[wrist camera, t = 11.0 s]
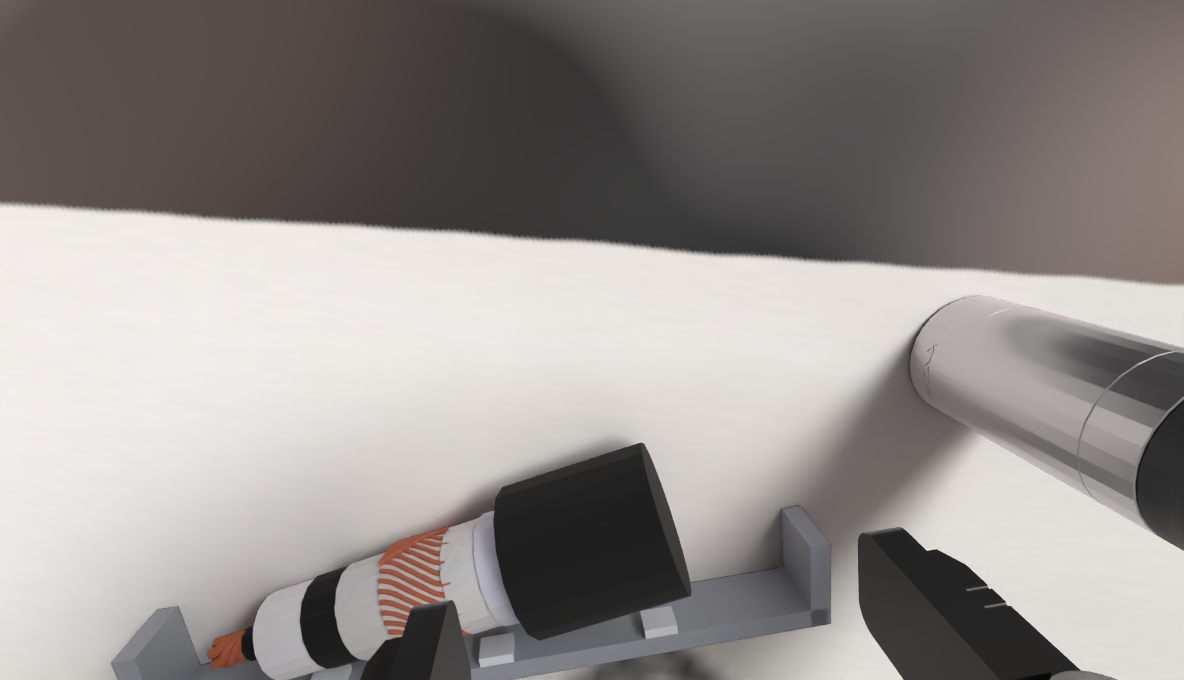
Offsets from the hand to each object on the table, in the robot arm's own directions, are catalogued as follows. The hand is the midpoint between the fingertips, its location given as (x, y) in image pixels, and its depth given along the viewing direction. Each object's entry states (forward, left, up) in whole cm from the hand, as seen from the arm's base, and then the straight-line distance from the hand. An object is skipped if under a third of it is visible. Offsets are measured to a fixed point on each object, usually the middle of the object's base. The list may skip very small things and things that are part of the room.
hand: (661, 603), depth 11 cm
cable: (+12, +18, -30) cm, 37 cm away
